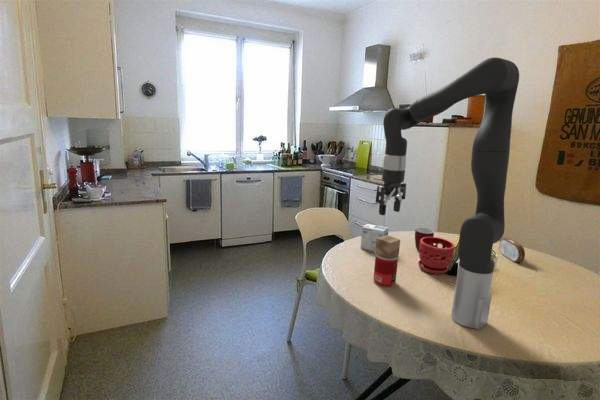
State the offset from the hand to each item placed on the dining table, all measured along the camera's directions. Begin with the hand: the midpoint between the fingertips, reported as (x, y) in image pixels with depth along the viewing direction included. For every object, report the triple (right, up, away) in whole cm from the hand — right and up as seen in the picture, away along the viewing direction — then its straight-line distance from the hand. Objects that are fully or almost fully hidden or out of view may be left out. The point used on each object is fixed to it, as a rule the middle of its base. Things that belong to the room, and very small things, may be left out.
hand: (389, 213), depth 127 cm
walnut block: (0, -15, +2) cm, 15 cm away
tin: (+62, -22, +32) cm, 73 cm away
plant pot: (+22, -24, +17) cm, 37 cm away
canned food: (-1, -26, +5) cm, 26 cm away
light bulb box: (+2, -18, +38) cm, 42 cm away
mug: (+24, -19, +38) cm, 49 cm away
